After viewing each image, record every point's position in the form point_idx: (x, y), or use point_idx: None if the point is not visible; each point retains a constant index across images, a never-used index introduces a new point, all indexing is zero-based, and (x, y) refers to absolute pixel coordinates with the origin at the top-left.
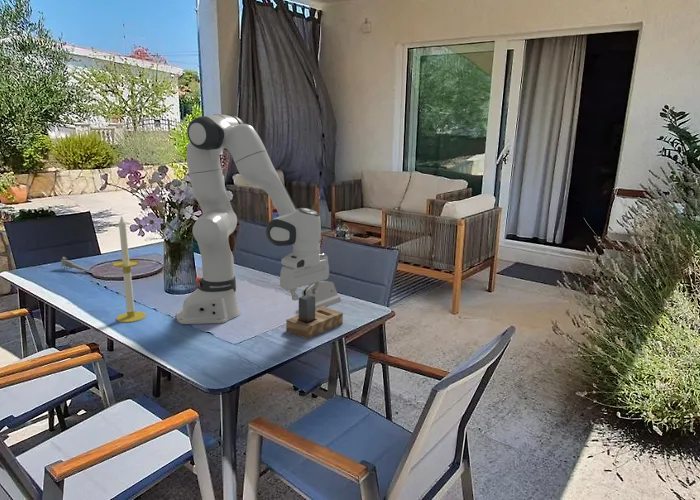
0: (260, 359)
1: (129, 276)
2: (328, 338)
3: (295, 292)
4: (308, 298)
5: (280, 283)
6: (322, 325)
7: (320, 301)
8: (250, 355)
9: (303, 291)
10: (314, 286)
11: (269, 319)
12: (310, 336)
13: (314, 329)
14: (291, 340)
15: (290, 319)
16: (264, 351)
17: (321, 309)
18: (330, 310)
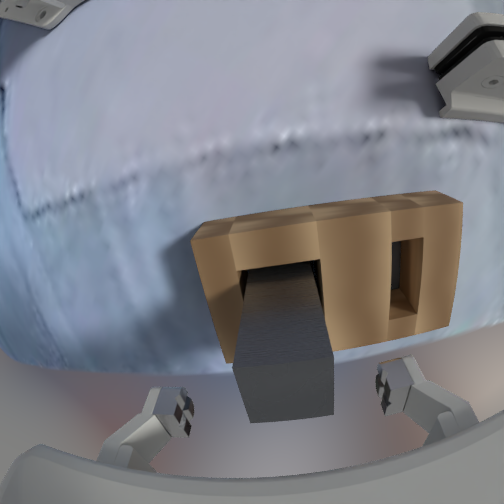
0: (66, 337)
1: None
2: None
3: (149, 460)
4: (283, 409)
5: (14, 469)
6: None
7: (501, 101)
8: (48, 305)
9: (479, 26)
10: (420, 398)
11: (208, 56)
12: None
13: None
14: (177, 307)
15: (211, 250)
16: (80, 312)
17: (430, 238)
18: (444, 276)
